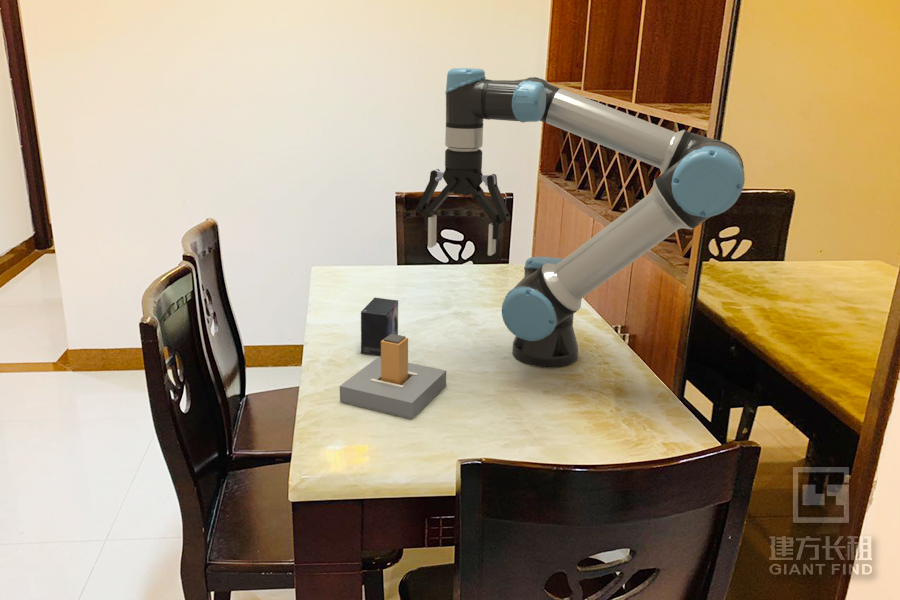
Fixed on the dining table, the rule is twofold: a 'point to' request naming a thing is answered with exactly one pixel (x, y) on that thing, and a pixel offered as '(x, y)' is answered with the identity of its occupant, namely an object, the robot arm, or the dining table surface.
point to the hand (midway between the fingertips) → (461, 250)
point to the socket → (393, 389)
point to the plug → (394, 359)
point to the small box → (378, 324)
